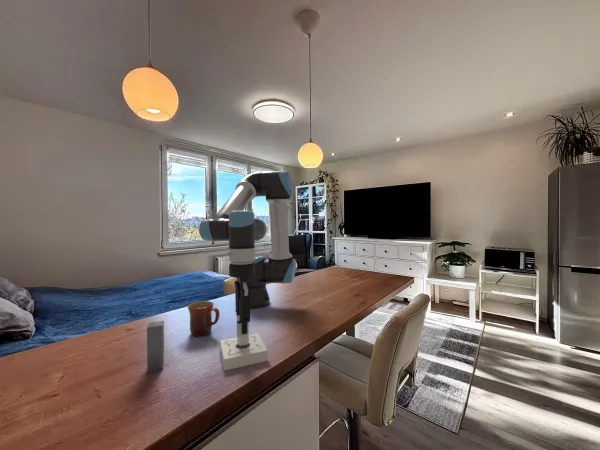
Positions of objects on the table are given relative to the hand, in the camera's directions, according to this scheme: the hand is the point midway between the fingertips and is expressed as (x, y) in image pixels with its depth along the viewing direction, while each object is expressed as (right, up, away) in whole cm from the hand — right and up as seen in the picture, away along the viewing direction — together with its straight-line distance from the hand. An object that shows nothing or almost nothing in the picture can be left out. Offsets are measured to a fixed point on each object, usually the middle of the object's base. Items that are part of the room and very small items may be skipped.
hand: (242, 341), depth 74 cm
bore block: (0, -4, 0) cm, 4 cm away
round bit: (0, -4, 0) cm, 4 cm away
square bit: (-22, -4, -6) cm, 24 cm away
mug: (-17, -5, +16) cm, 24 cm away
